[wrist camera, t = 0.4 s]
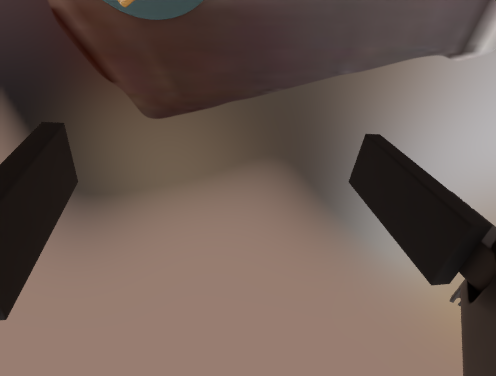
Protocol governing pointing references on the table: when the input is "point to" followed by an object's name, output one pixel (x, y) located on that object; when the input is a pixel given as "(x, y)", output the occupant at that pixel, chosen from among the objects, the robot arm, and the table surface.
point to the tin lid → (154, 7)
